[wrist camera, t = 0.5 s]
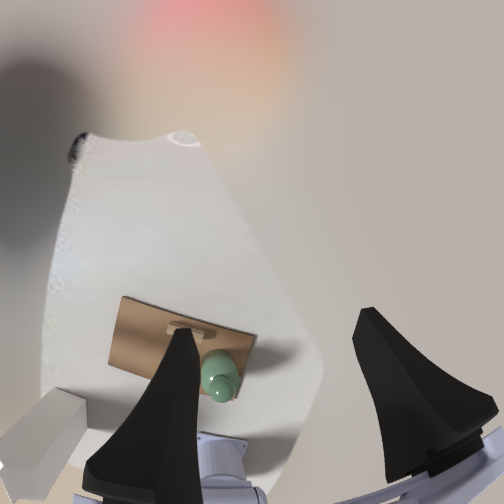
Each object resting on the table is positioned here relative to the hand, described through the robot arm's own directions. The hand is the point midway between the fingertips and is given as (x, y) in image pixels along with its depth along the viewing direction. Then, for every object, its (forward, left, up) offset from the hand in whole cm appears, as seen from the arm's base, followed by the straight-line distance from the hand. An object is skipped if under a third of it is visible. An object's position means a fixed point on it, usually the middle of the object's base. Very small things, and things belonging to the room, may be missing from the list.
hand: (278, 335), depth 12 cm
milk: (-27, +18, -26) cm, 41 cm away
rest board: (-11, +4, -25) cm, 28 cm away
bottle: (-11, -2, -25) cm, 27 cm away
